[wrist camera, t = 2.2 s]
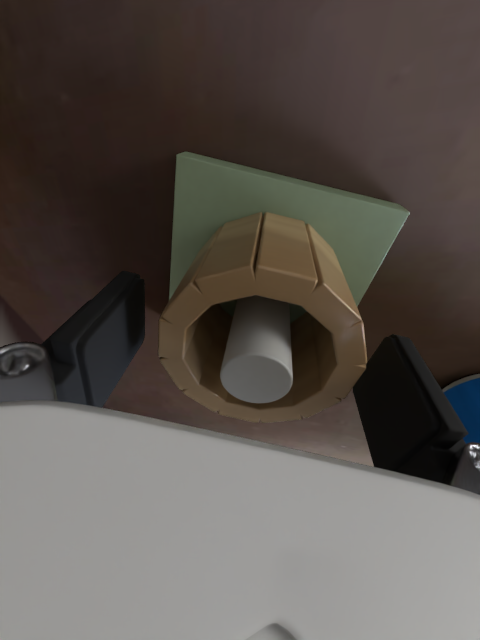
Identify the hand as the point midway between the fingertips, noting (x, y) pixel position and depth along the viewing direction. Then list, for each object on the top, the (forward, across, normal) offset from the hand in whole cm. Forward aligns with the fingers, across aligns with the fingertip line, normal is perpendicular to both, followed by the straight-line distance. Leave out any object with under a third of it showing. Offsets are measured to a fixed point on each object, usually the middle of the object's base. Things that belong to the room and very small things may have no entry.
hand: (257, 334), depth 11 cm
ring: (+3, 0, 0) cm, 3 cm away
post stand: (+4, 0, 0) cm, 4 cm away
